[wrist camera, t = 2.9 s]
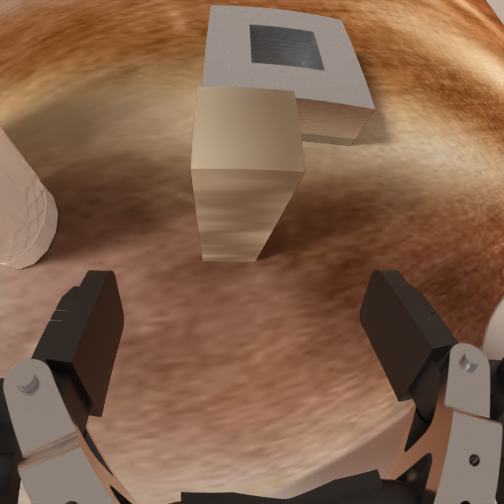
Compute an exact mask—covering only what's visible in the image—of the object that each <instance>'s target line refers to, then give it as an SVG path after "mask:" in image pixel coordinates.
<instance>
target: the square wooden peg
mask: <svg viewBox="0 0 504 504" xmlns="http://www.w3.org/2000/svg"><path fill="white" fill-rule="evenodd" d="M304 174H305V164H304V156H303V148H302V141H301V133H300V126H299V119H298V113H297V106H296V99H295V93H294V91H287V90H276V89H262V88H245V87H197V96H196V106H195V117H194V130H193V143H192V157H191V175H192V183H193V192H194V200H195V207H196V215H197V222H198V230H199V237H200V244H201V251H202V258H203V262H252V261H256V259H257V258H258V256H259V254H260V252H261V250H262V249H263V247H264V245H265V243H266V242H267V240H268V238H269V236H270V234H271V233H272V231H273V229H274V227H275V226H276V224H277V222H278V220H279V218H280V217H281V215H282V213H283V211H284V209H285V208H286V206H287V204H288V202H289V201H290V199H291V197H292V195H293V193H294V192H295V190H296V188H297V186H298V184H299V183H300V181H301V179H302V177H303V175H304Z"/></svg>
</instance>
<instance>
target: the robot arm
mask: <svg viewBox="0 0 504 504" xmlns="http://www.w3.org/2000/svg"><path fill="white" fill-rule="evenodd" d="M360 320H361V324H362V326H363V328H364V330H365V332H366V334H367V336H368V338H369V340H370V342H371V344H372V346H373V348H374V350H375V352H376V354H377V356H378V359H379V361H380V363H381V365H382V367H383V369H384V371H385V373H386V375H387V377H388V379H389V381H390V384H391V386H392V388H393V390H394V392H395V394H396V397H397V399H398V401H399V402H401V401H405V400H409V399H413V400H414V402H415V404H414V405H413V406H412V408H411V411H410V414H409V418H408V422H407V425H406V429H405V432H404V436H403V439H402V442H401V445H400V448H399V451H398V454H397V457H396V459H395V461H394V462H393V464H392V466H391V467H390V468H389V470H388V471H387V473H386V475H385V477H384V479H381V478H380V475H379V472H378V470H373V471H370V472H366V473H362V474H358V475H355V476H350V477H345V478H341V479H337V480H333V481H331V482H329V483H327V484H324V485H322V486H320V487H318V488H315V489H313V490H311V491H308V492H306V493H303V494H301V495H298V496H296V497H293V498H290V499H276V498H267V497H259V496H252V495H246V494H240V493H234V492H226V493H191V492H181V501H179V502H173V503H170V504H494V501H495V499H496V501H497V504H504V358H503V359H502V360H488V359H487V357H486V356H485V355H484V353H483V352H482V351H481V350H479V349H478V348H477V347H475V346H473V345H470V344H467V343H458V342H457V340H456V339H455V338H454V336H453V335H452V333H451V332H450V331H449V329H448V328H447V326H446V325H445V324H444V322H443V321H442V320H441V318H440V317H439V315H438V314H436V311H435V310H434V309H433V307H432V306H431V305H429V302H428V301H427V300H426V298H425V297H424V296H423V294H422V293H421V292H420V291H418V290H417V289H416V288H414V287H413V286H411V285H410V284H408V283H407V281H406V280H405V279H404V278H403V276H402V275H401V274H400V273H399V271H397V270H375V271H374V272H373V273H372V275H371V277H370V281H369V284H368V287H367V290H366V293H365V296H364V300H363V303H362V306H361V310H360ZM123 326H124V314H123V308H122V304H121V300H120V296H119V291H118V287H117V282H116V277H115V274H114V272H113V271H97V270H90V271H88V272H87V274H86V276H85V277H84V279H83V281H82V283H81V285H80V287H76V286H74V287H73V288H72V289H70V290H69V291H68V292H67V293H66V294H65V295H64V296H63V297H62V298H61V300H60V302H59V304H58V305H57V307H56V311H54V313H53V315H52V317H51V321H49V323H48V325H47V327H46V329H45V331H44V333H43V335H42V337H41V339H40V341H39V343H38V345H37V347H36V349H35V351H34V353H33V356H32V358H31V359H27V360H23V361H21V362H19V363H17V364H15V365H14V366H13V367H12V368H11V369H10V370H9V371H8V373H7V374H6V376H5V378H1V379H0V504H18V496H19V489H20V482H21V480H22V483H23V485H24V487H25V490H26V492H27V494H28V497H29V499H30V501H31V503H32V504H137V503H136V501H135V500H134V499H133V498H132V496H131V495H130V494H129V492H128V491H127V490H126V489H125V488H124V486H123V485H122V484H121V482H120V481H119V480H118V478H117V477H116V475H115V474H114V472H113V471H112V469H111V468H110V466H109V464H108V463H107V461H106V460H105V458H104V456H103V455H102V453H101V451H100V450H99V448H98V446H97V444H96V443H95V441H94V439H93V437H92V435H91V434H90V432H89V430H88V428H87V427H86V424H87V420H88V416H89V415H90V416H97V417H102V413H103V408H104V403H105V399H106V394H107V390H108V386H109V381H110V377H111V373H112V369H113V365H114V361H115V357H116V353H117V350H118V346H119V342H120V339H121V335H122V331H123Z"/></svg>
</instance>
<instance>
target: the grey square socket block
mask: <svg viewBox="0 0 504 504" xmlns="http://www.w3.org/2000/svg"><path fill="white" fill-rule="evenodd" d="M202 87H245V88H262V89H276V90H287V91H294V93H295V99H296V106H297V113H298V119H299V126H300V133H301V141H312V142H322V143H332V144H341V145H350V146H351V144H352V143H353V141H354V140H355V138H356V137H357V136H358V134H359V133H360V131H361V130H362V128H363V127H364V125H365V124H366V122H367V121H368V120H369V118H370V117H371V115H372V114H373V112H374V111H375V107H374V104H373V101H372V98H371V95H370V92H369V89H368V86H367V83H366V80H365V77H364V75H363V72H362V69H361V67H360V64H359V61H358V59H357V56H356V54H355V51H354V49H353V46H352V44H351V42H350V39H349V37H348V34H347V32H346V30H345V28H344V25H343V23H342V21H341V20H339V19H334V18H329V17H324V16H319V15H313V14H307V13H301V12H294V11H287V10H279V9H270V8H259V7H244V6H215V5H211V9H210V17H209V25H208V33H207V41H206V50H205V60H204V69H203V80H202Z"/></svg>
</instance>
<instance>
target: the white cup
mask: <svg viewBox="0 0 504 504" xmlns="http://www.w3.org/2000/svg"><path fill="white" fill-rule="evenodd" d="M57 219H58V210H57V207H56V204H55V200H54V197H53V196H52V194H51V193H50V192H49V191H48V190H47V189H46V188H45V186H44V185H43V184H42V183H41V182H40V180H39V178H38V177H37V175H36V173H35V172H34V171H33V169H32V168H31V167H30V165H29V164H28V163H27V162H26V160H25V159H24V157H23V156H22V154H21V153H20V152H19V150H18V149H17V148H16V147H15V145H14V144H13V143H12V141H11V140H10V139H9V137H8V136H7V135H6V133H5V132H4V131H3V129H2V128H1V127H0V264H2V265H5V266H8V267H12V268H15V269H22V268H25V267H27V266H30V265H33V264H35V263H36V262H37V261H38V260H39V259H40V258H41V257H42V256H43V255H44V254H45V253H46V252H47V251H48V248H49V246H50V244H51V242H52V240H53V238H54V236H55V233H56V228H57Z"/></svg>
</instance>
